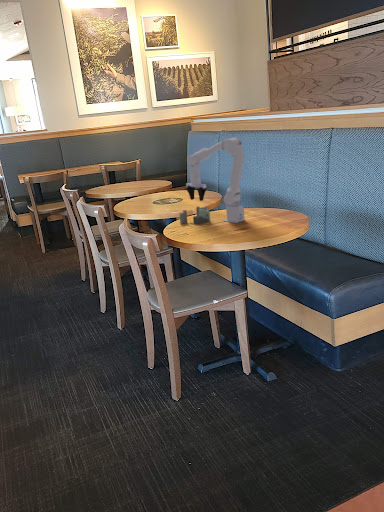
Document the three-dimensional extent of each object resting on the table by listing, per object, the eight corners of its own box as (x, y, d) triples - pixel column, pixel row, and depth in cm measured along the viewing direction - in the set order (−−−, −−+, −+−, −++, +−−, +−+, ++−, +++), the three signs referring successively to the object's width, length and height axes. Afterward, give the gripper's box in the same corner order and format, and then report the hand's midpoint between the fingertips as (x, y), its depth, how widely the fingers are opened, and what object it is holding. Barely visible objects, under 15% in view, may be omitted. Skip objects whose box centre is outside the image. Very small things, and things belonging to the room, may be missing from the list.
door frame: (207, 216, 260) (207, 204, 258) (182, 224, 248) (181, 211, 245) (205, 216, 261) (205, 204, 259) (180, 223, 249) (179, 211, 247)
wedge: (199, 225, 244) (198, 217, 243) (193, 223, 247) (193, 216, 246) (209, 221, 249) (209, 214, 248) (204, 220, 252) (203, 213, 251)
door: (199, 218, 256) (198, 209, 254) (210, 220, 249) (209, 210, 248) (197, 219, 255) (196, 209, 253) (208, 221, 248) (207, 211, 247)
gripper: (181, 176, 254) (183, 200, 258) (199, 177, 244) (200, 202, 248) (190, 174, 259) (192, 197, 263) (208, 176, 248) (209, 200, 252)
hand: (196, 200), depth 256 cm, fingers open, 7 cm apart
